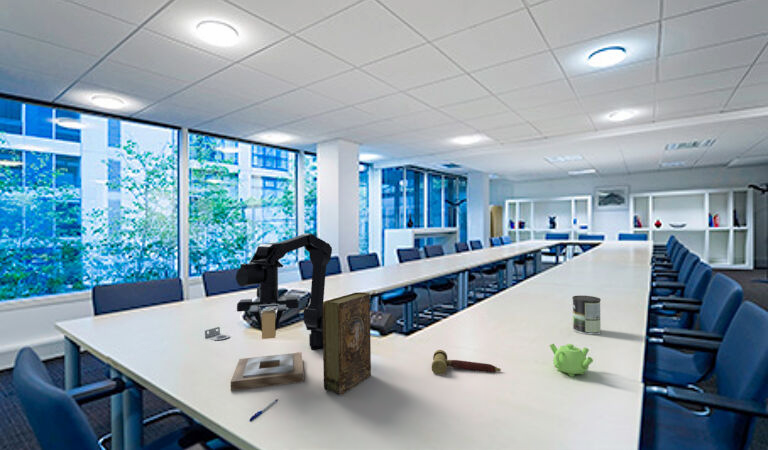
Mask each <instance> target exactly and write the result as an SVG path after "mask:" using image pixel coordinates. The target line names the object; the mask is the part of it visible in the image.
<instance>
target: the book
mask: <svg viewBox="0 0 768 450" xmlns="http://www.w3.org/2000/svg"><path fill="white" fill-rule="evenodd" d="M370 296H371V294H370V293H368V292H358V291H357V292H352V293H350V294H346V295H342V296H339V297H335V298H331V299H327V300H324V301H323V348H322V350H323V352H322V355H323V356H322V357H323V390H324V391H326V392H328V391H330V392H335V393H337V394H338V395H339V396H343V395H344V394H346V393H348V392H349V391H351V390H352V389H354V388H356V387H357V386H359V384H361V382H362V383H363V382H365V381H366V380H368V379H369V378H371V377H370V376H372V360H371V359H372V356H371V355H372V353H371V352H372V351H371V350H372V349H371V346H372V345H371V297H370ZM367 378H368V379H367ZM364 380H365V381H364Z"/></svg>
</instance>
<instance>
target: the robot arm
mask: <svg viewBox="0 0 768 450" xmlns="http://www.w3.org/2000/svg"><path fill="white" fill-rule="evenodd" d="M300 248H304V250H305V251H306V252H308V254H309V260H310V263H311V265H312V271H311V272H312V273H311V275H312V276H311V287H310V288H311V289H310V300H309V304H308V306H307V307H305V308H304V309H303V317H302V320H303V324H304V325H305V327H306V331H310V333H309V334H308V337H309V340H308V343H309V348H310V349H311V350H319V349H322V350H323V302H324V301H325V300H324V298H325V285H326V271H327V266H328V264H329V263H330V261H331V259H332V258H331V257H332V254H333V253H332V252H333V247H332V246H331V244H330V243H328V242H326V241H325V240H323V239H322V238H320V237H317V236H316V235H315V234H313V233H302V234H300V235H297V236H295V237H291V238H288V239H285V240H283V241H282V240H281V241H280V242H268V243H260V244H259V245H257V248H256V251H255V252H254V255H253V256H252V258H251V260H249V263H240V268H238V269H237V272H236V275H235V279H236V283H237V284H238V286H240V287H248V286H254V285H259V287H257V288H256V298H258V299H259V301H258V300H257V301H253V298H246V299H240V300H239V301H238V302H237V304H236V312H248V311H249V314H252V315H253V317H254V318H255V320H256V322H257V325H258V327H259V329H260V332H262V308H270V307H277V309H276V323H275V330H276V331H277V329H278V327H279V323H280V321H281V317H282V315H283V313H284V312H287V311H288V309H298V308H299V297H298V296H287V297H286V298H285V299H280V300H279V298H280V296H279V294H280V293H279V269H280V268H283V267H284V265H283V263H282V262H280V261H279V260H281V259H282V258H284V257H285V256H286V254H288V253H291V252H293V251H295V250H298V249H300Z"/></svg>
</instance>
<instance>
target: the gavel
mask: <svg viewBox="0 0 768 450" xmlns="http://www.w3.org/2000/svg"><path fill="white" fill-rule="evenodd" d="M432 357H433V358H432V359H433V361H432V363H431V371H432V373H433V374H434V375H438V374H443V375H445V374H446V373H447V368H448V367H449V368H452V369H456V370H465V371H472V372H480V373H481V372H482V373H498V372H501V370H502V369H501V368H500V367H497V366H495V365H493V364H491V363H483V362H477V361H476V362H474V361H467V360H458V359H448V354H447V352H446V351H445V350H442V349H437V350H436V351H435V352H433V356H432Z"/></svg>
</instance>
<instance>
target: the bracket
mask: <svg viewBox="0 0 768 450" xmlns="http://www.w3.org/2000/svg"><path fill="white" fill-rule="evenodd" d="M220 329H221V328H220V326H217V327H214V328H209V329H205V330H204V338H205V339H207V338H208V339H209V340H211V341H212V340H213V341H222V340H226V339H229V338H230V336H231V335H228V334H221V330H220Z"/></svg>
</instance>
